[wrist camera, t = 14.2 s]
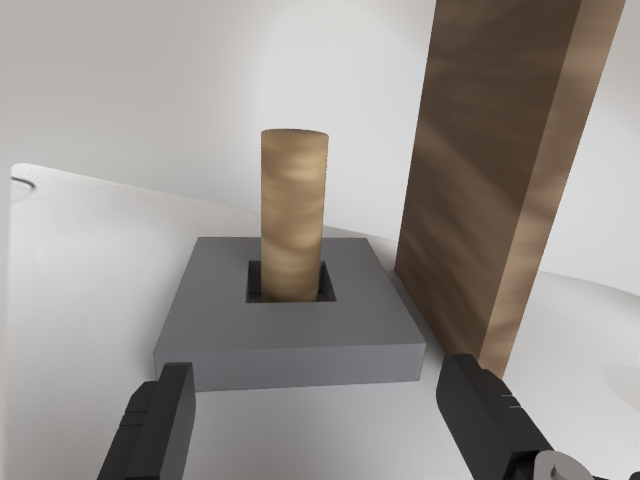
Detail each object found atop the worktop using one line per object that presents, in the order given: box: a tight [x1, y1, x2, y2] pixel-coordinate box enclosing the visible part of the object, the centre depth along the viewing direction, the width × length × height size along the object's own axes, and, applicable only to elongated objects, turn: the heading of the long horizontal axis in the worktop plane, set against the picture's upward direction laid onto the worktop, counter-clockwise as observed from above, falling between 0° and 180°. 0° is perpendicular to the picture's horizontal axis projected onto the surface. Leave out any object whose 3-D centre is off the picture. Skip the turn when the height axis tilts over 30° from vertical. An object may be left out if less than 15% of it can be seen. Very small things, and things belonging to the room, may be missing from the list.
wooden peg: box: [261, 129, 329, 303], centre depth 28 cm, size 4×4×14 cm
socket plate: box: [153, 237, 427, 392], centre depth 31 cm, size 16×16×3 cm
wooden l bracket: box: [394, 0, 626, 380], centre depth 25 cm, size 22×16×28 cm
